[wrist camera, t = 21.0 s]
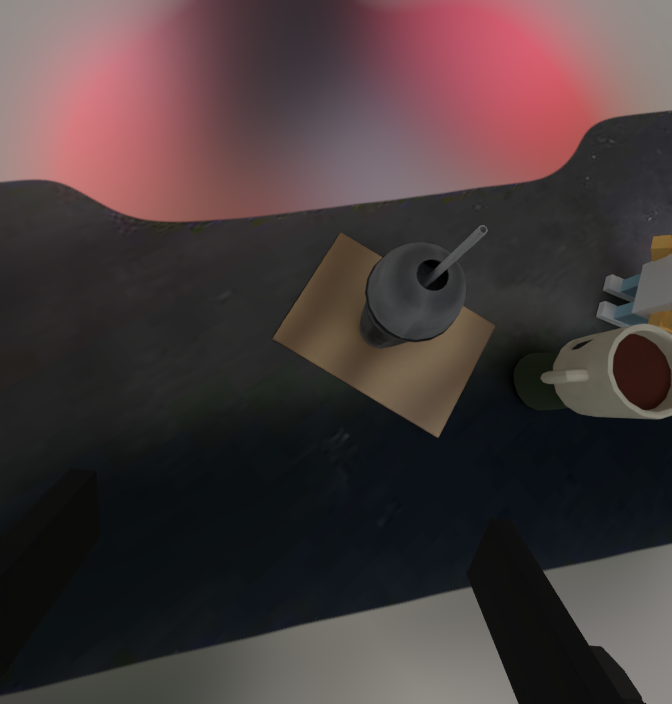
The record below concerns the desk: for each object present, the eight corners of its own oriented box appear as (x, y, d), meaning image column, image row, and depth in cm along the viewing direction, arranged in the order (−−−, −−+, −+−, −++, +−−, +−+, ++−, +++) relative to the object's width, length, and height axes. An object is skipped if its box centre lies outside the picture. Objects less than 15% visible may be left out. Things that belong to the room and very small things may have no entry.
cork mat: (272, 339, 37) (272, 338, 36) (340, 234, 39) (340, 232, 38) (436, 437, 37) (438, 438, 36) (493, 326, 39) (496, 325, 39)
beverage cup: (332, 319, 37) (365, 221, 17) (386, 282, 38) (475, 151, 18) (373, 375, 36) (455, 340, 17) (426, 335, 38) (562, 260, 18)
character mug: (577, 348, 40) (707, 321, 27) (586, 411, 39) (727, 415, 26) (485, 351, 39) (576, 324, 26) (493, 417, 38) (591, 423, 25)
